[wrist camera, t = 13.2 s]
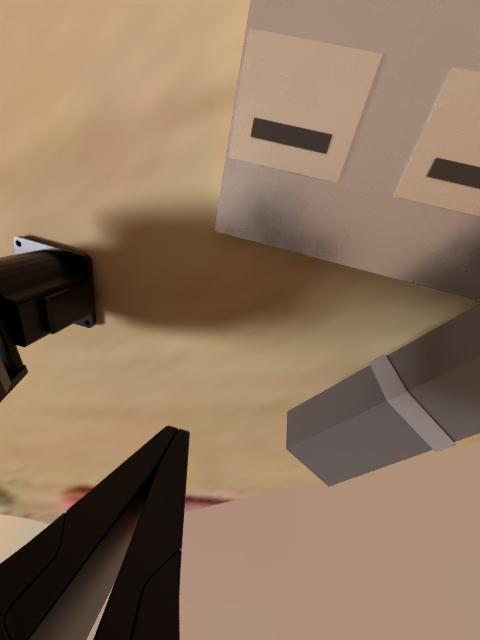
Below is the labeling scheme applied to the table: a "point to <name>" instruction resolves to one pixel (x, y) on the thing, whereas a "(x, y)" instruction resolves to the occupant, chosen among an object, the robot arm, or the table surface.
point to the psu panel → (360, 137)
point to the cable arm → (394, 406)
